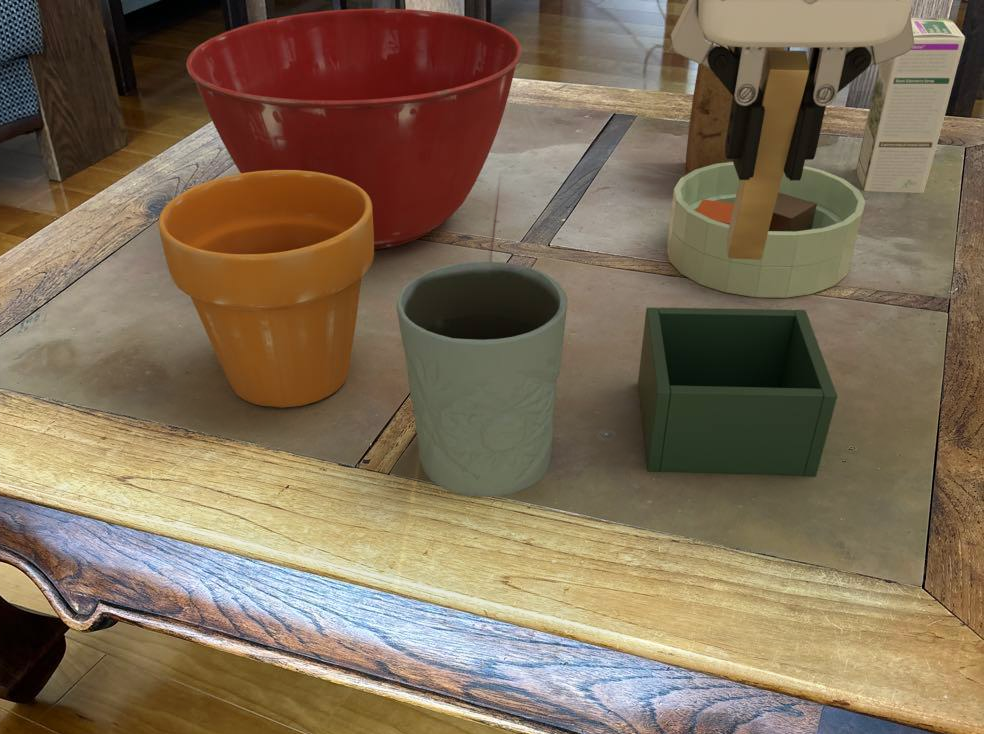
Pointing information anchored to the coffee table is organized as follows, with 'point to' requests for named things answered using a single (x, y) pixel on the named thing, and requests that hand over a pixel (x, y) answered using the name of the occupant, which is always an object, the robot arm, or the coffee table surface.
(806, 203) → the walnut block
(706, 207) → the terracotta block
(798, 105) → the stirring stick
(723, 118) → the block
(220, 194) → the flower pot
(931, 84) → the syrup box
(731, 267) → the bowl
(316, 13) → the mixing bowl
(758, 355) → the box
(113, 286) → the coffee table surface
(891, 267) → the coffee table surface
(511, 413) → the grey green cup
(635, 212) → the coffee table surface
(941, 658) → the coffee table surface
